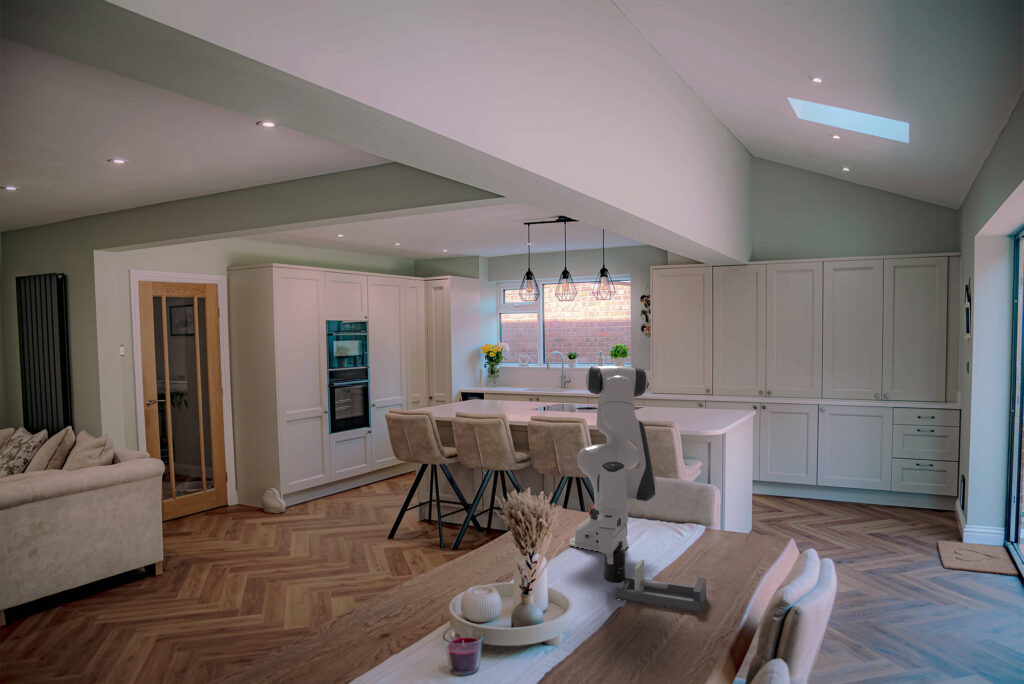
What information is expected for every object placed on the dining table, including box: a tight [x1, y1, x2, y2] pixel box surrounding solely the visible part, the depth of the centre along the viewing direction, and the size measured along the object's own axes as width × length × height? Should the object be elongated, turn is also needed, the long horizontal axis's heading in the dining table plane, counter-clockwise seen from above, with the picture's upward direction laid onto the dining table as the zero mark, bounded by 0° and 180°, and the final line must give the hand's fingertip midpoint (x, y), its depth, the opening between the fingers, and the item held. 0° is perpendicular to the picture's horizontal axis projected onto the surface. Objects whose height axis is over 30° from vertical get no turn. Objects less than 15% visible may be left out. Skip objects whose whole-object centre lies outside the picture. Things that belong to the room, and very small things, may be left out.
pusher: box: [634, 559, 668, 592], centre depth 195 cm, size 9×8×9 cm
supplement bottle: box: [603, 541, 627, 584], centre depth 200 cm, size 7×7×12 cm
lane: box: [615, 576, 707, 614], centre depth 194 cm, size 25×11×6 cm, turn 65°
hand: (614, 559), depth 200 cm, fingers closed on supplement bottle, 7 cm apart
